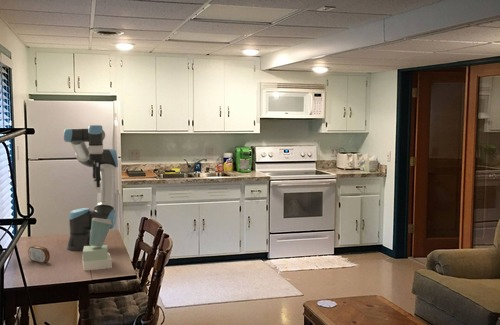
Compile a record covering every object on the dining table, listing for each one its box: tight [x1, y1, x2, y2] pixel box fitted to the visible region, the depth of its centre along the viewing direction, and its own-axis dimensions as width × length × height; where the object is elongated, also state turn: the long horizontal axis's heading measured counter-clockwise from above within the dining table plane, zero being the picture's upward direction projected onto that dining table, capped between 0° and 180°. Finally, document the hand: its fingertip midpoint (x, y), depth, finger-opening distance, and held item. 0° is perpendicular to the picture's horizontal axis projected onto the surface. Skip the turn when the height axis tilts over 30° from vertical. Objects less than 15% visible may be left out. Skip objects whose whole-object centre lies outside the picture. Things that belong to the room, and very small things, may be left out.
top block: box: [82, 244, 109, 261], centre depth 270 cm, size 12×12×5 cm
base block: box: [81, 252, 113, 271], centre depth 270 cm, size 14×14×5 cm
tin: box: [27, 244, 51, 264], centre depth 278 cm, size 15×3×8 cm, turn 59°
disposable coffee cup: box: [89, 218, 112, 247], centre depth 270 cm, size 11×11×15 cm
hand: (96, 191), depth 286 cm, fingers open, 13 cm apart
